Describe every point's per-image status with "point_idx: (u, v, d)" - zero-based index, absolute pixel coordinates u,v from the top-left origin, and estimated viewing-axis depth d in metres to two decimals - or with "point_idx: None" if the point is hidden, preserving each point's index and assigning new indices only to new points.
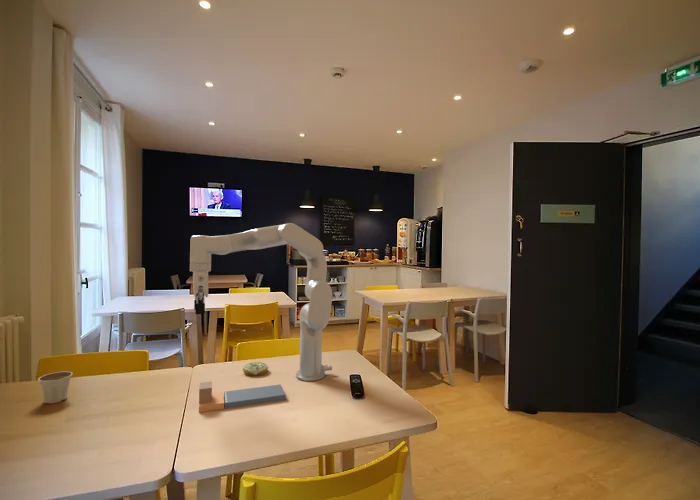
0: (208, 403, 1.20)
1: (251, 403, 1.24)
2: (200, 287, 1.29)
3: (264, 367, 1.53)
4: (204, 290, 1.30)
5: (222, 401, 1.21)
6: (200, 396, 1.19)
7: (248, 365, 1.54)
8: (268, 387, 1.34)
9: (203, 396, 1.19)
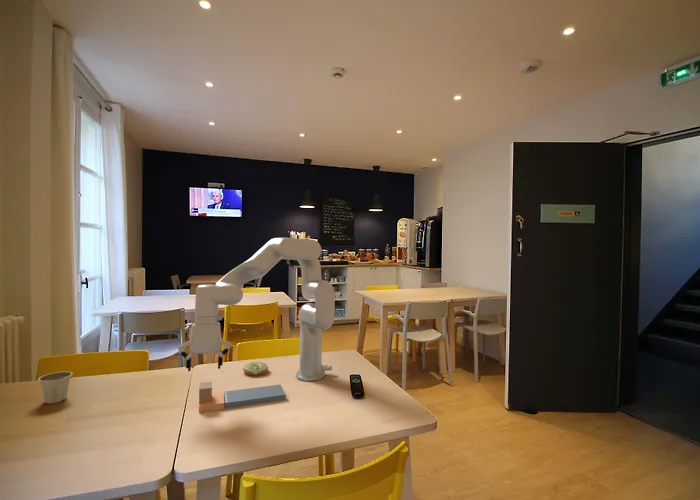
0: (208, 403, 1.20)
1: (251, 403, 1.24)
2: (221, 339, 1.24)
3: (264, 367, 1.53)
4: None
5: (222, 401, 1.21)
6: (200, 396, 1.19)
7: (248, 365, 1.54)
8: (268, 387, 1.34)
9: (203, 396, 1.19)
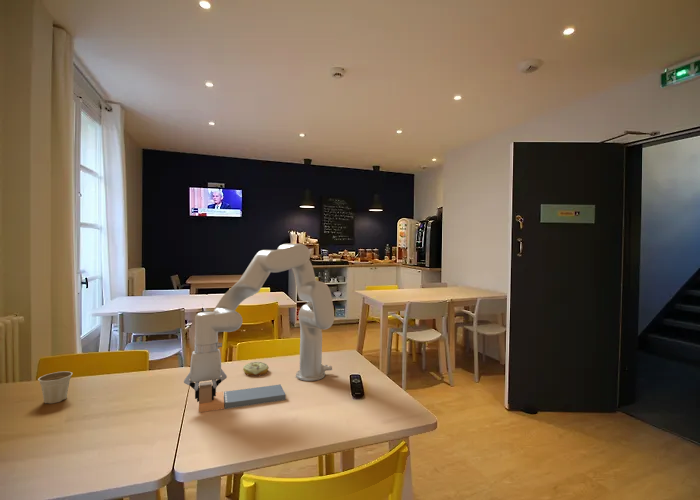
0: (208, 403, 1.20)
1: (251, 403, 1.24)
2: None
3: (264, 367, 1.53)
4: None
5: (222, 401, 1.21)
6: (200, 396, 1.19)
7: (248, 365, 1.54)
8: (268, 387, 1.34)
9: (203, 396, 1.19)
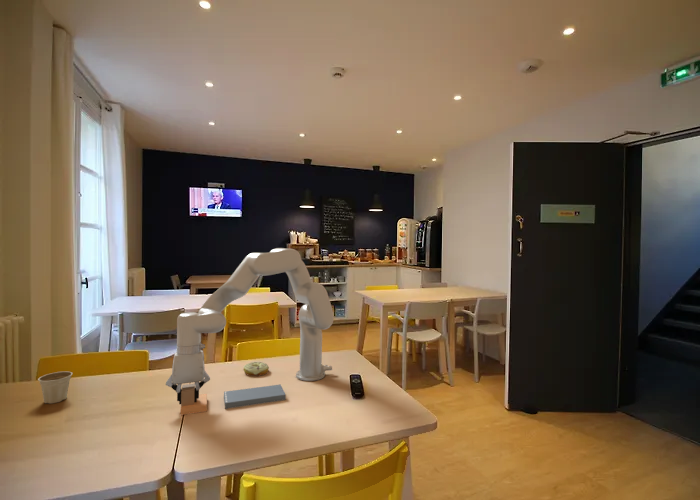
0: (191, 405, 1.18)
1: (251, 403, 1.24)
2: (204, 370, 1.22)
3: (265, 367, 1.53)
4: (204, 369, 1.23)
5: (205, 403, 1.19)
6: (182, 398, 1.17)
7: (249, 365, 1.54)
8: (268, 387, 1.34)
9: (185, 399, 1.17)
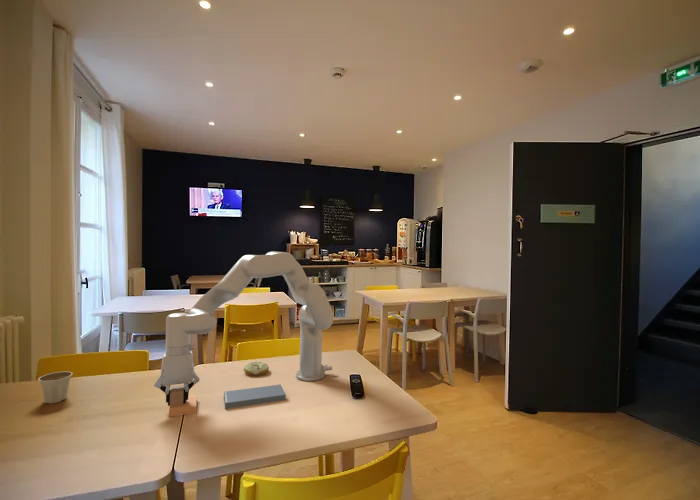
0: (180, 407, 1.16)
1: (251, 403, 1.24)
2: (193, 371, 1.21)
3: (265, 367, 1.53)
4: None
5: (194, 405, 1.18)
6: (171, 400, 1.16)
7: (249, 365, 1.54)
8: (268, 387, 1.34)
9: (174, 400, 1.16)
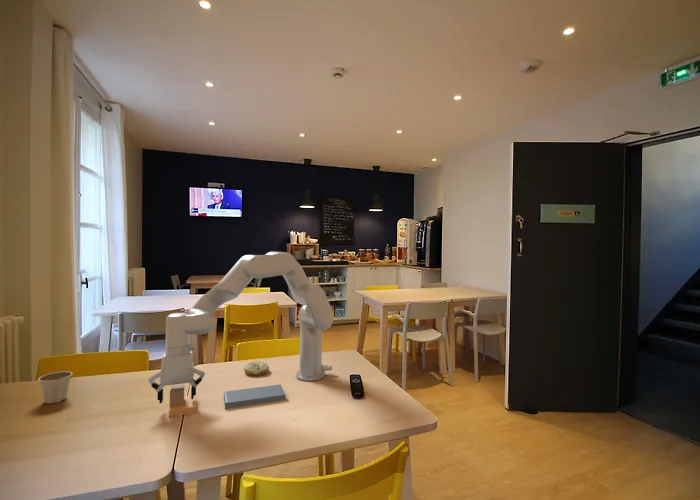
0: (179, 407, 1.16)
1: (251, 403, 1.24)
2: (194, 368, 1.21)
3: (265, 367, 1.53)
4: None
5: (194, 405, 1.18)
6: (171, 400, 1.16)
7: (249, 365, 1.54)
8: (268, 387, 1.34)
9: (173, 400, 1.16)
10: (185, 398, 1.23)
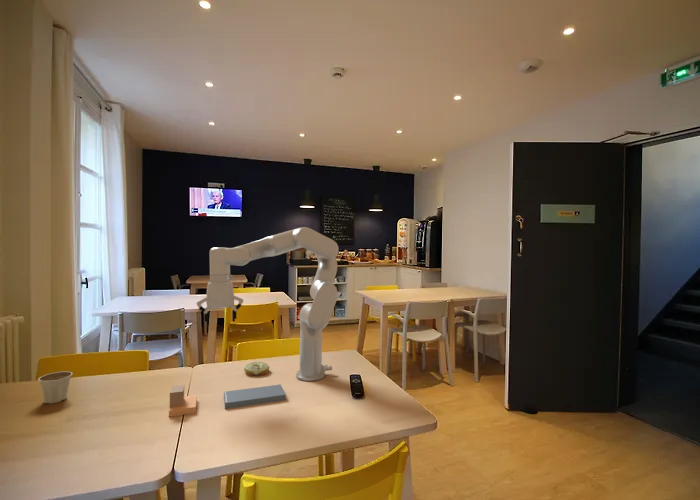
0: (179, 407, 1.16)
1: (251, 403, 1.24)
2: (234, 296, 1.39)
3: (265, 367, 1.53)
4: None
5: (194, 405, 1.18)
6: (171, 400, 1.16)
7: (249, 365, 1.54)
8: (268, 387, 1.34)
9: (173, 400, 1.16)
10: (185, 398, 1.23)
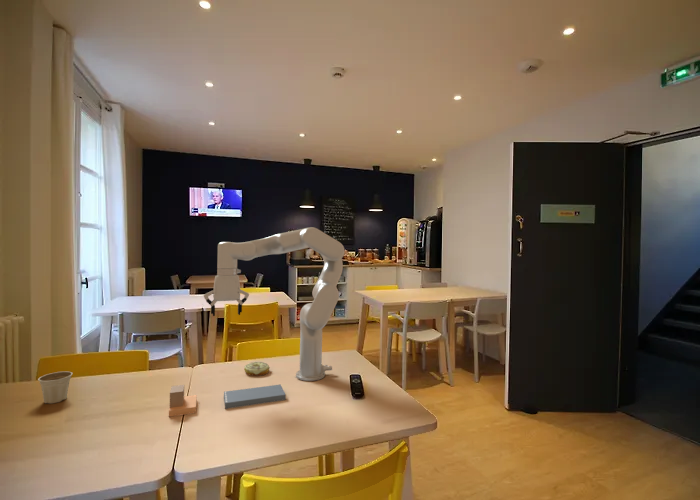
0: (179, 407, 1.16)
1: (251, 403, 1.24)
2: None
3: (265, 367, 1.53)
4: None
5: (194, 405, 1.18)
6: (171, 400, 1.16)
7: (249, 365, 1.54)
8: (268, 387, 1.34)
9: (173, 400, 1.16)
10: (185, 398, 1.23)
